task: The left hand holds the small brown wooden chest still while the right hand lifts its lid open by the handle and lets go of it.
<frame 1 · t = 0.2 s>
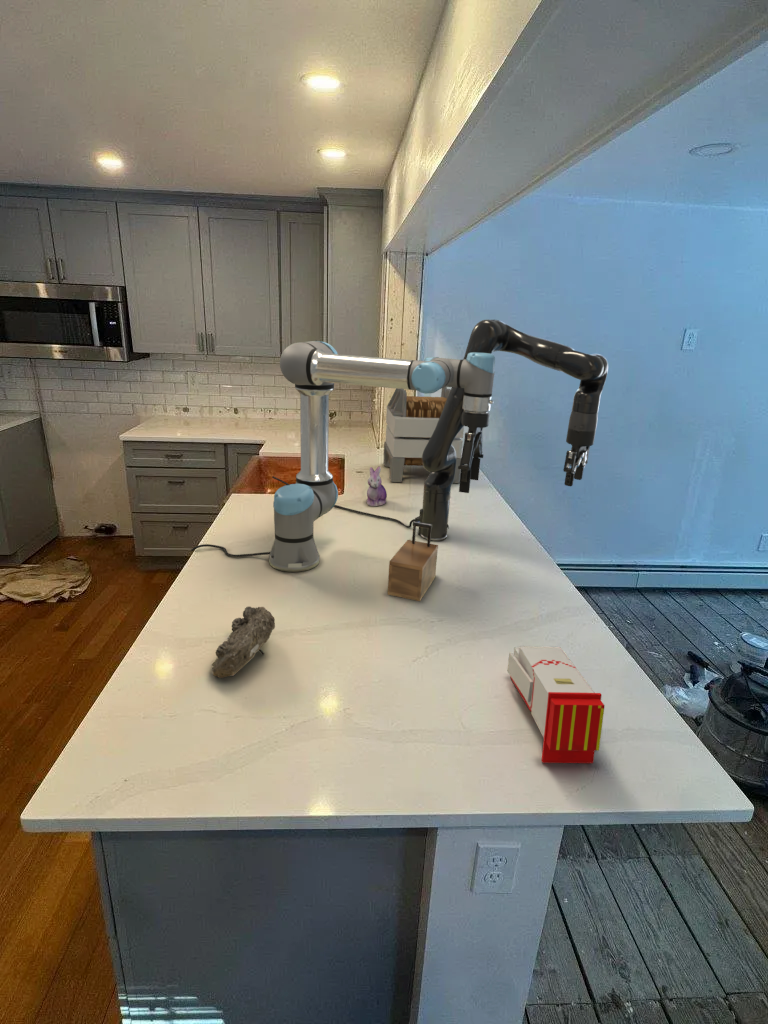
left hand: (468, 485, 162), 28 cm above the counter, tool pointing down, fingers open, 13 cm apart
right hand: (573, 482, 165), 29 cm above the counter, tool pointing down, fingers open, 8 cm apart
chest: (412, 585, 163), on the counter
fossil: (247, 653, 128), on the counter
figurine: (376, 503, 230), on the counter
lid: (415, 543, 159), point 13 cm above the counter, hinge at 0.0°
transformer: (419, 473, 275), on the counter
toy: (544, 712, 113), on the counter
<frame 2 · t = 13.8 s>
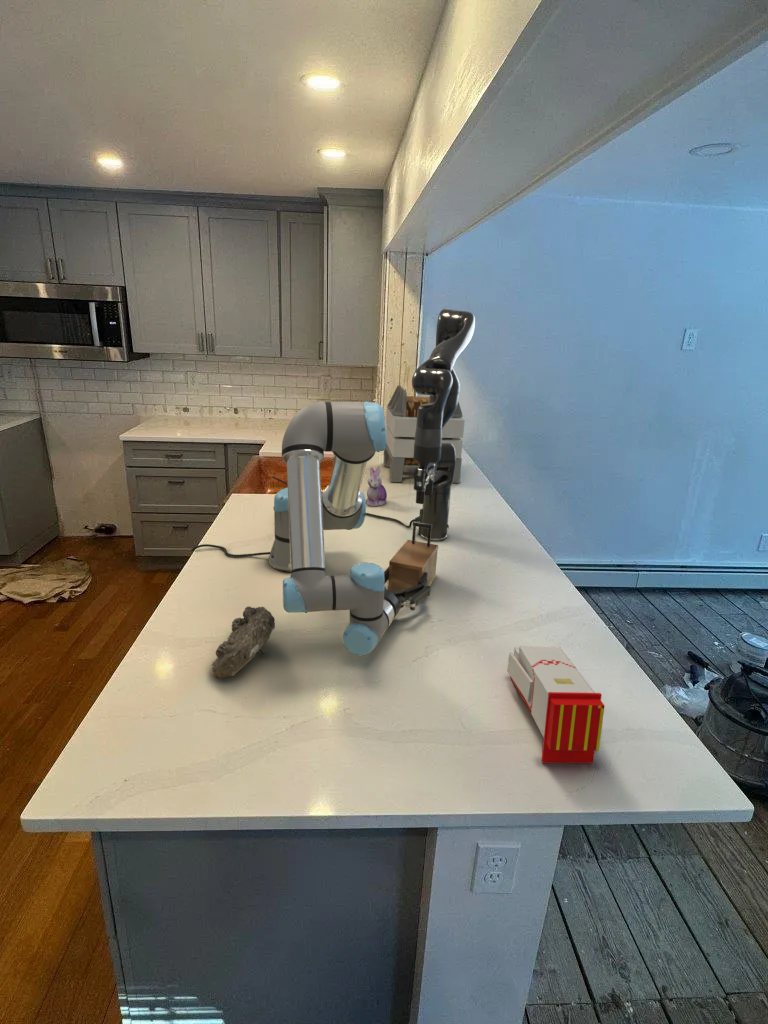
left hand: (408, 573, 157), 6 cm above the counter, tool horizontal, fingers closed on chest, 9 cm apart
right hand: (424, 499, 161), 24 cm above the counter, tool pointing down, fingers open, 8 cm apart
chest: (412, 585, 163), on the counter, touching left hand
everything else where it was.
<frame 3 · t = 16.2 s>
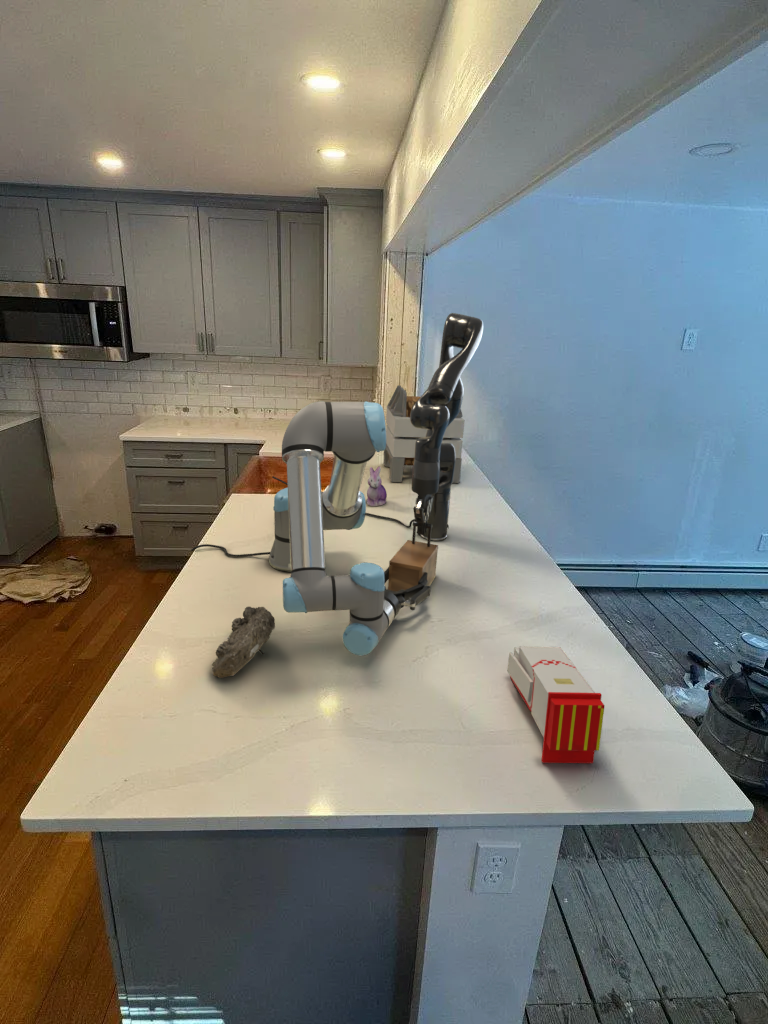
left hand: (408, 573, 157), 6 cm above the counter, tool horizontal, fingers closed on chest, 9 cm apart
right hand: (421, 532, 164), 14 cm above the counter, tool pointing down, fingers closed
chest: (412, 585, 163), on the counter, touching left hand
lid: (415, 543, 159), point 13 cm above the counter, hinge at -0.2°, touching right hand
everything else where it was.
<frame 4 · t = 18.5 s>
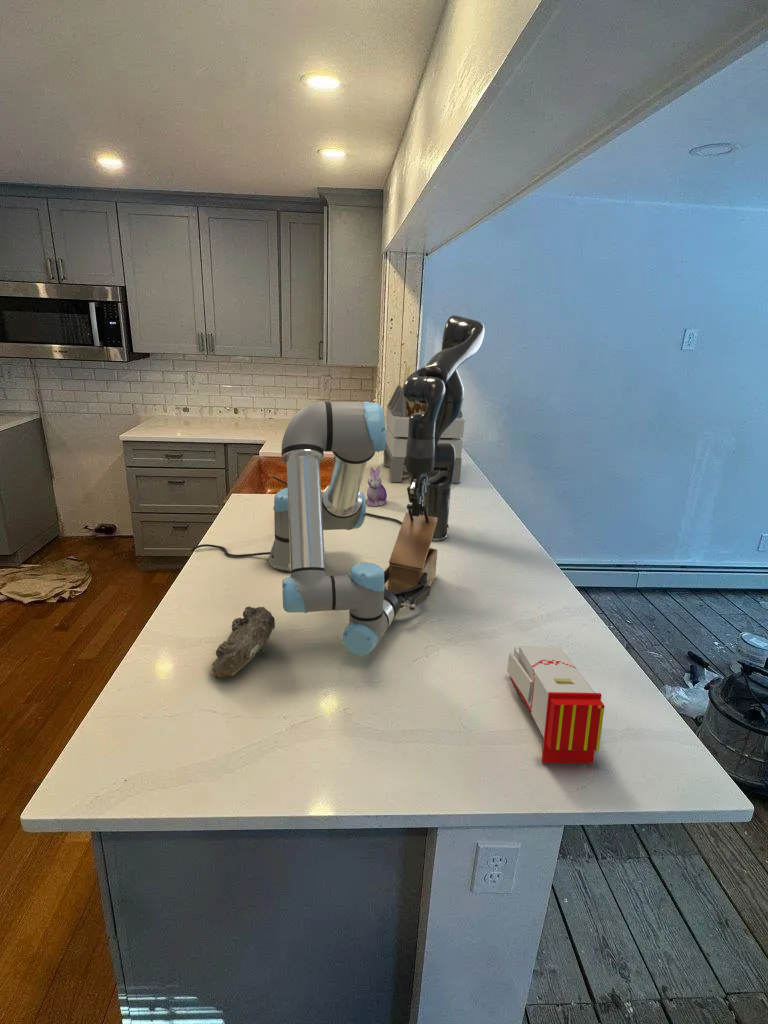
left hand: (408, 573, 156), 6 cm above the counter, tool horizontal, fingers closed on chest, 9 cm apart
right hand: (416, 514, 155), 22 cm above the counter, tool pointing down, fingers closed
chest: (412, 585, 163), on the counter, touching left hand
lid: (412, 533, 154), point 17 cm above the counter, hinge at 36.4°, touching right hand
everything else where it was.
when the left hand's fingers open (6 cm above the counter, at t = 24.4 s): chest stays where it is, on the counter.
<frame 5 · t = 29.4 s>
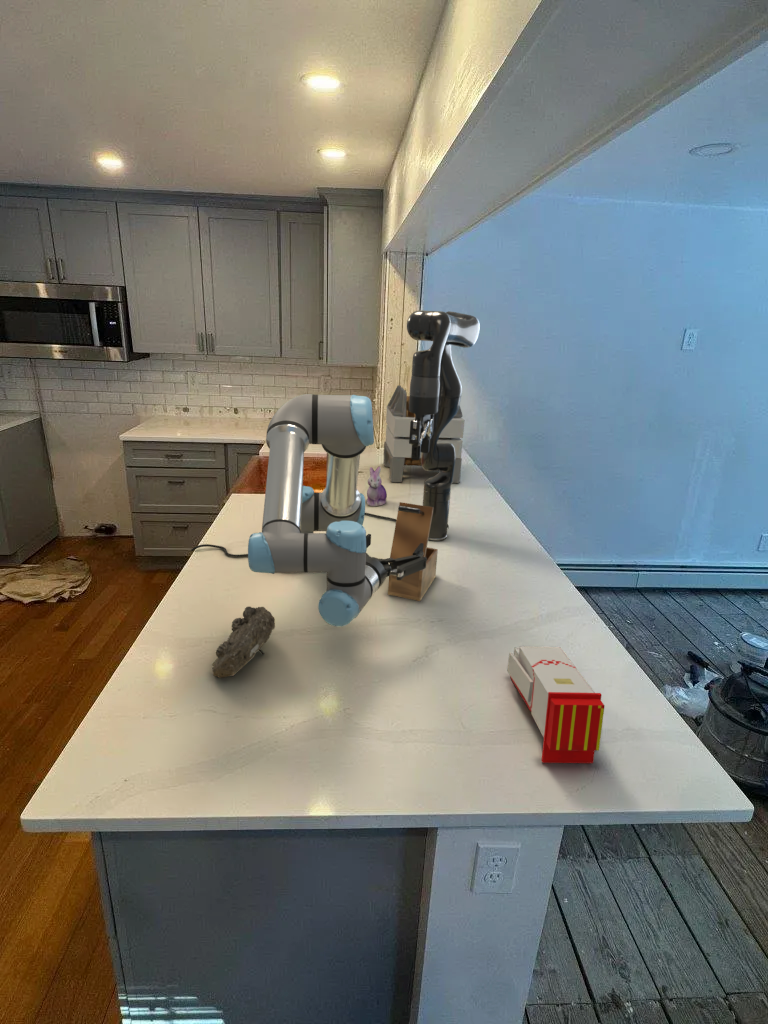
left hand: (395, 543, 140), 20 cm above the counter, tool horizontal, fingers open, 13 cm apart
right hand: (420, 456, 149), 38 cm above the counter, tool pointing down, fingers open, 8 cm apart
chest: (412, 585, 163), on the counter
lid: (408, 534, 150), point 19 cm above the counter, hinge at 66.1°
everything else where it was.
at the end: lid at +66° (first picture: +0°); the left hand is holding nothing; the right hand is holding nothing; chest tilted 0°; chest never tilted more than 1° during the clip; chest moved 0.1 cm from its start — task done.
